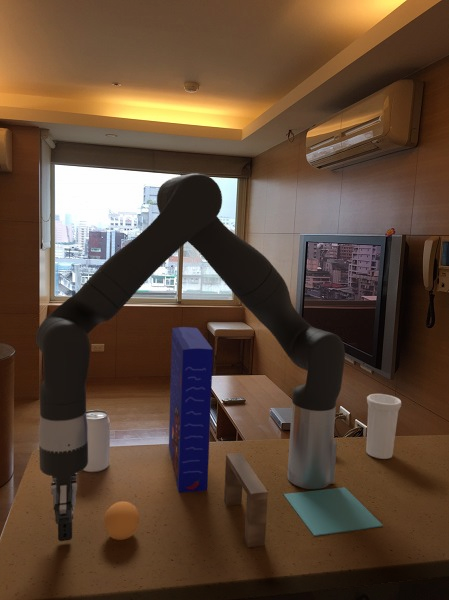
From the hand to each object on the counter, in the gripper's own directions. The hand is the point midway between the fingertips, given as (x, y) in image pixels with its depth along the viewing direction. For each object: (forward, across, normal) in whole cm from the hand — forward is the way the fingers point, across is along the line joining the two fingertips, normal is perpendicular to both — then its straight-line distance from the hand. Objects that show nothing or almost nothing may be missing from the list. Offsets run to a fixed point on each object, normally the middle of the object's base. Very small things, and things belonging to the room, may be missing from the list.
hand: (65, 537), depth 81 cm
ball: (-2, 0, -9) cm, 9 cm away
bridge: (+1, 0, -31) cm, 31 cm away
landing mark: (+2, 0, -49) cm, 49 cm away
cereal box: (+2, +23, -25) cm, 34 cm away
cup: (+2, +20, -73) cm, 76 cm away
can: (+1, +27, -5) cm, 27 cm away
